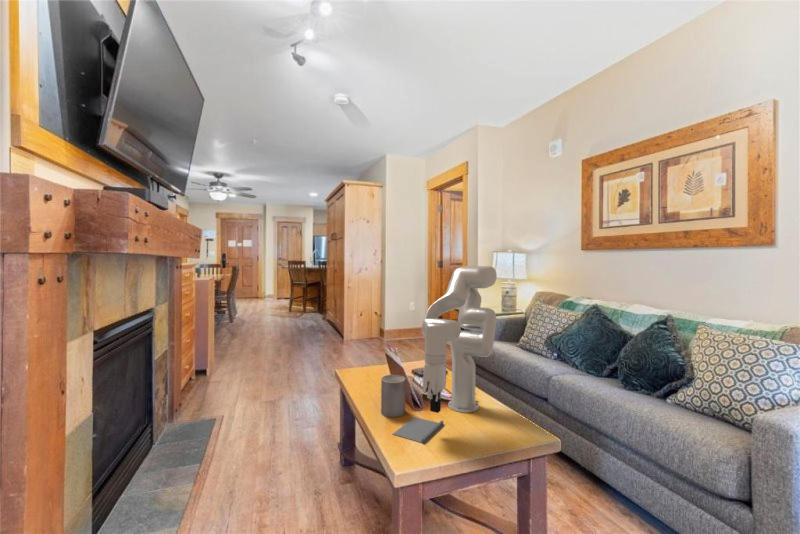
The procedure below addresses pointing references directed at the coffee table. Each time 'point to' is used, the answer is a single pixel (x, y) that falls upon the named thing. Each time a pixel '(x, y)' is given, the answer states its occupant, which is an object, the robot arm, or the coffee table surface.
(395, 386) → the pillar candle
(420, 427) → the slate mat
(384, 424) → the coffee table surface
